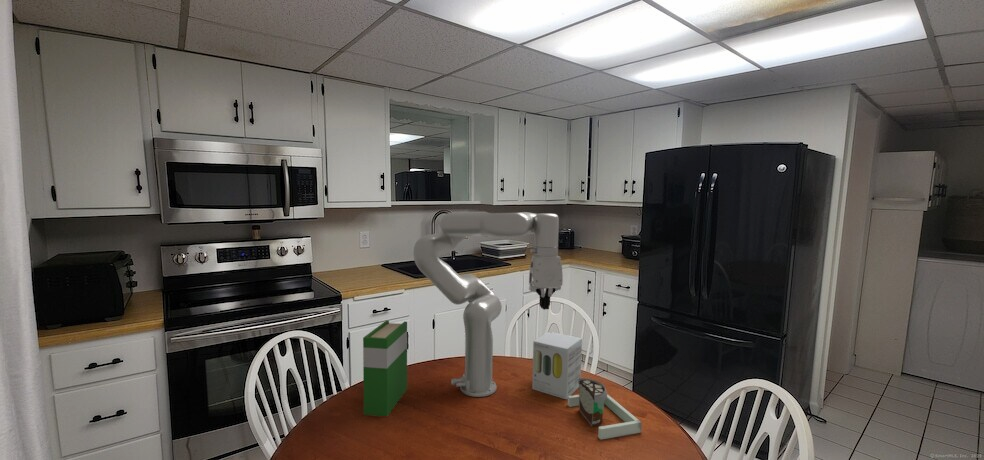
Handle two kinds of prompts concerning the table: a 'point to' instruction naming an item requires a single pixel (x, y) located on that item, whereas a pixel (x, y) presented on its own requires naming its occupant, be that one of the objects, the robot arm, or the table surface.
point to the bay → (615, 430)
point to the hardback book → (384, 367)
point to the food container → (591, 400)
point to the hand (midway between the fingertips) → (544, 308)
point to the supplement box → (557, 364)
